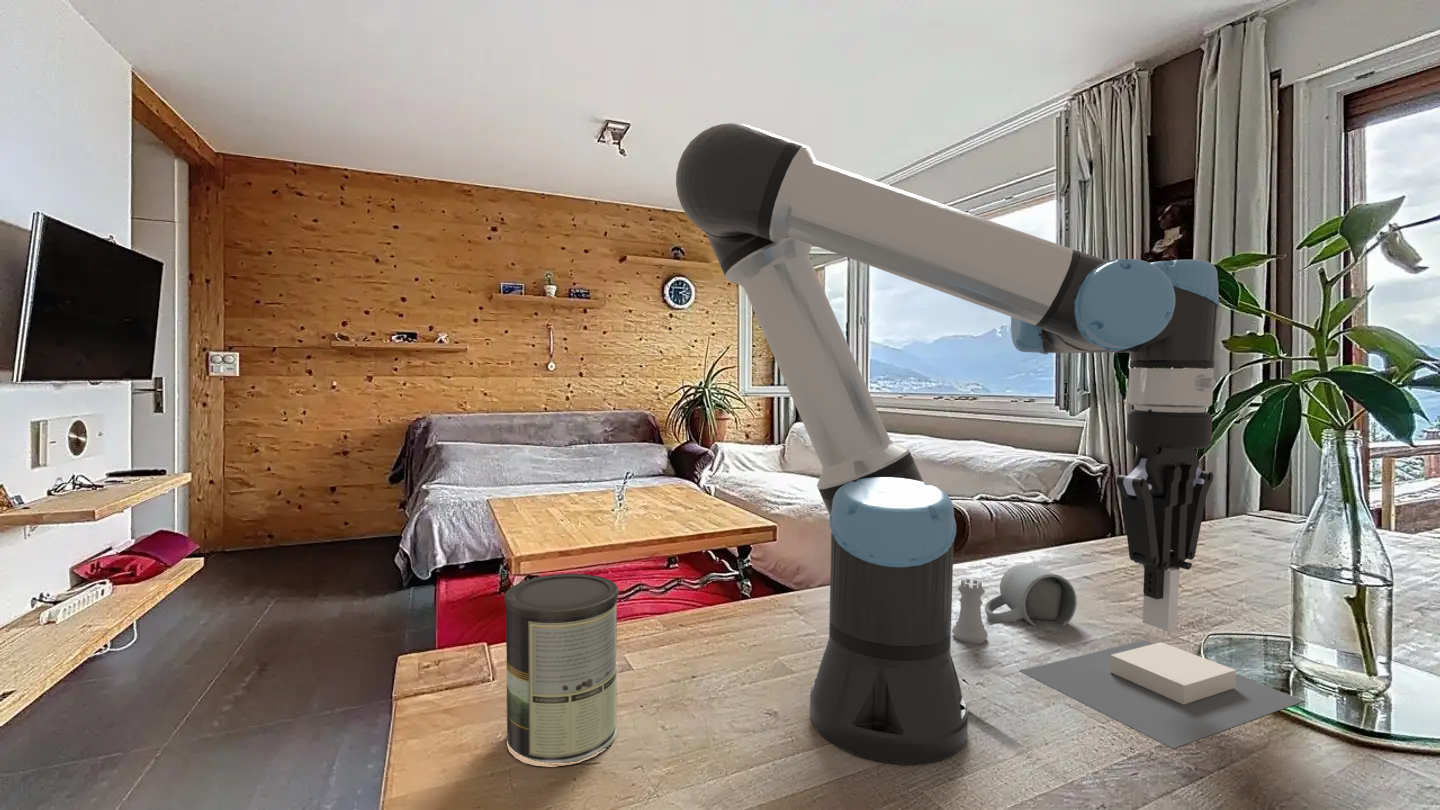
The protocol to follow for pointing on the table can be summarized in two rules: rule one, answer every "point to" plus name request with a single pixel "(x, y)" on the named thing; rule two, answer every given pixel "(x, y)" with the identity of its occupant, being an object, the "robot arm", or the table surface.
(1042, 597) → the ceramic mug
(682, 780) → the table surface
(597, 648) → the coffee can
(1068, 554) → the table surface
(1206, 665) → the tile
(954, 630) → the rook chess piece
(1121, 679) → the mat
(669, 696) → the table surface
